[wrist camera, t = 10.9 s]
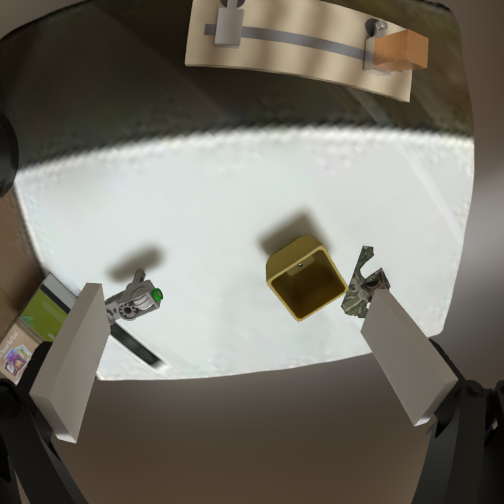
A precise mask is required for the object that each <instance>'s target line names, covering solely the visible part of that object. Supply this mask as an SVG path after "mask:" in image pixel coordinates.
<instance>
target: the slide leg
mask: <svg viewBox="0 0 504 504" xmlns="http://www.w3.org/2000/svg"><path fill="white" fill-rule="evenodd" d="M372 28H373V30H374V37H371V38H369V39H366V49H365V62H364V71H366V72H370V73H373V74H376V75H380V76H388V75H391V72H395V71H404V70H414V69H426V68H427V60H428V38H426V37H424V36H422V35H420V34H418V33H415V32H413V31H411V30H409V29H407V30H403V31H400V32H396V33H393V34H390V35H387V36H385V29H387V28H388V25H387V23H386V22H385V21H383V20H382V21H379V22H375V23H374V24H373V25H372Z"/></svg>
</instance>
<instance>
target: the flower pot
mask: <svg viewBox="0 0 504 504" xmlns="http://www.w3.org/2000/svg"><path fill="white" fill-rule="evenodd" d="M300 263H301V264H302V266H299V264H300ZM266 282H267V285H268V286H269V287H270V289H271V290H272V291H273V292H274V294H275V295H276V296H277V297H278V298H279V300H280V301H281V302H282V303H283V305H284V306H285V307H286V308H287V310H288V311H289V312H290V314H291V315H292V316H293V317H294V319H295V320H296V321H298V322H300V321H302V320H304V319H306V318H307V317H309V316H310V315H312V314H313V313H315V312H317V311H318V310H320V309H321V308H323V307H324V306H326V305H328V304H329V303H331V302H332V301H334V300H336V299H337V298H339V297H340V296H342V295H343V294H345V293H346V292H347V291H348V290H349V287H348V286H347V284H346V282H345V281H344V279H343V278H342V276H341V274H340V273H339V271H338V270H337V268H336V266H335V264H334V263H333V261H332V259H331V257H330V256H329V254H328V252H327V250H326V249H325V247H324V246H323V245H322V244H321V243H320V242H319V241H317V240H316V239H315V238H314V237H312V236H310V235H303V236H301V237H299V238H297V239H296V240H294V241H293V242H291V243H290V244H288V245H287V246H285V247H284V248H282V249H281V250H279V251H278V252H276V253H275V254H274V255H272V256H271V257H270V258H269V259H268V261H267V264H266Z"/></svg>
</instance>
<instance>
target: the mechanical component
mask: <svg viewBox="0 0 504 504" xmlns="http://www.w3.org/2000/svg"><path fill="white" fill-rule="evenodd" d="M142 273H143V271H142V270H138V271H137V272H136V274H135V277H134V279H133V282H132V283H130V284H128V285H127V287H126V290H124V291H122V292H120V293H118V294H116V295H114V296H112V297H110V298H108V299H107V300H106V301H105V306H106V311H107V316H108V321H109V326H110V325H112V324H114V322H115V320H117V319H119V318H122V319H124V320H127V321H132V320H134V319H136V318H137V317H139V316H142V315H144V314H146V313H149V312H151V311H153V310H156V309H158V308H159V307H160V302H161V300H162V299H163V294H162V292H161V290H160V289H159V288H155V287H154V285H153V284H152V283H151V281H150V280H146V281H144V278H145V274H144V275H143V274H142ZM152 303H153V305H152V306H151V307H149V306H150V305H151V304H152ZM147 307H149V308H148V309H146V310H142V309H145V308H147Z"/></svg>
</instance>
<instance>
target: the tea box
mask: <svg viewBox="0 0 504 504" xmlns="http://www.w3.org/2000/svg"><path fill="white" fill-rule="evenodd" d="M76 300H77V298H76V297H75V296H74V295H73V294H72V293H71V292H70V291H69V290H68V289H67V288H65V287H64V286H63V285H62V284H61V283H60V282H59V281H58V280H57V279H56V278H55V277H54V276H53V275H52V274H51V273H50V274H49V275H48V276H47V277H46V278H45V280H44V281H43V282H42V283H41V284H40V285H39V287H38V288H37V289H36V290H35V292H34V293H33V294H32V295H31V297H30V298H29V299H28V300H27V302H26V303H25V304H24V306H23V307H22V308H21V310H20V311H19V313H18V314H17V316H16V317H15V319H14V320H13V321H12V323H11V324H10V326H9V327H8V329H7V331H6V332H5V334H4V335H3V337H2V339H1V340H0V371H1V372H2V373H3V374H4V375H5V376H7V377H8V378H9V379H10V380H12V381H13V382H14V383H15V384H18V382H19V380H20V378H21V376H22V374H23V372H24V370H25V368H26V367H27V364H28V362H29V360H31V356H32V354H33V352H34V350H35V349H36V348H37V347H38V346H39V345H40V344H41V343H42V342H43V341H49V342H54V340H55V338H56V336H57V334H58V332H59V331H60V329H61V327H62V325H63V323H64V321H65V319H66V318H67V316H68V314H69V312H70V310H71V309H72V307H73V305H74V303H75V302H76Z"/></svg>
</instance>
